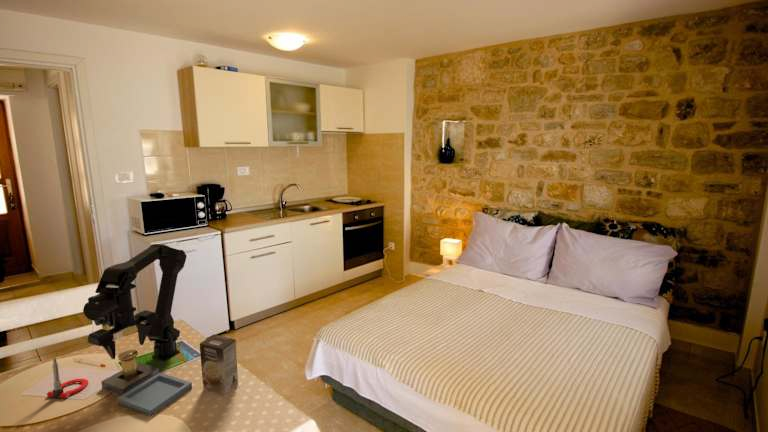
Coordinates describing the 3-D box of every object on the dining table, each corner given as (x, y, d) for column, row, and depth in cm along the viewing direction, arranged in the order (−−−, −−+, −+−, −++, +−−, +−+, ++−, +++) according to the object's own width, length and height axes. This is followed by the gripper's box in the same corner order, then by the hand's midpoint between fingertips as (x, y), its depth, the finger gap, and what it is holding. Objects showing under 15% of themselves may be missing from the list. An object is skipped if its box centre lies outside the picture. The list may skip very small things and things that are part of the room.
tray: (160, 378, 127) (160, 372, 127) (192, 388, 122) (191, 382, 122) (118, 404, 114) (117, 398, 114) (151, 416, 109) (150, 410, 109)
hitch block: (138, 368, 133) (137, 361, 132) (159, 375, 129) (158, 368, 128) (102, 388, 122) (101, 381, 121) (123, 396, 118) (122, 389, 117)
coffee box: (202, 390, 121) (197, 343, 118) (216, 378, 127) (213, 333, 124) (225, 396, 118) (221, 348, 115) (239, 384, 124) (236, 338, 121)
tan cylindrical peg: (133, 375, 129) (130, 348, 127) (144, 379, 127) (141, 351, 125) (118, 384, 124) (114, 356, 122) (129, 388, 122) (125, 360, 120)
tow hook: (72, 380, 126) (44, 397, 117) (69, 343, 125) (39, 357, 116) (95, 383, 125) (68, 400, 116) (91, 345, 123) (63, 360, 114)
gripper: (133, 291, 132) (138, 333, 135) (72, 313, 115) (80, 361, 118) (156, 296, 128) (161, 339, 131) (96, 320, 111) (104, 369, 114)
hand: (127, 351), depth 123 cm, fingers open, 9 cm apart
